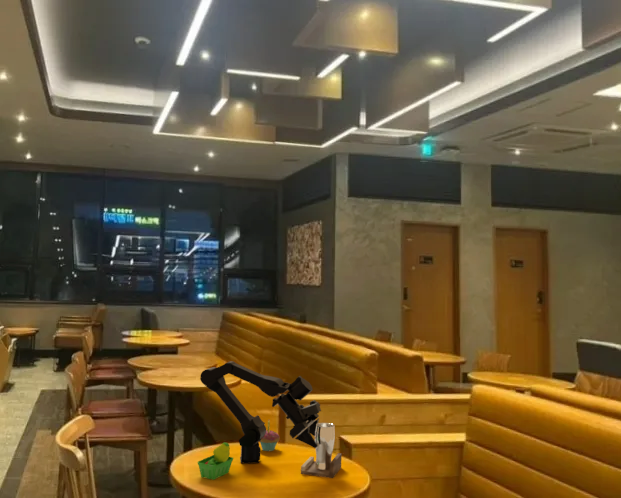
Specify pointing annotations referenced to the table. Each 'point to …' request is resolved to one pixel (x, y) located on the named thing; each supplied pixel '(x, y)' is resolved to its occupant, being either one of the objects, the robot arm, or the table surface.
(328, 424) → the beer glass
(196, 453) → the table surface
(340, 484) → the table surface
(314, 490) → the table surface
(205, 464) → the fruit basket
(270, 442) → the cupcake
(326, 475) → the grey bracket
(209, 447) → the table surface
